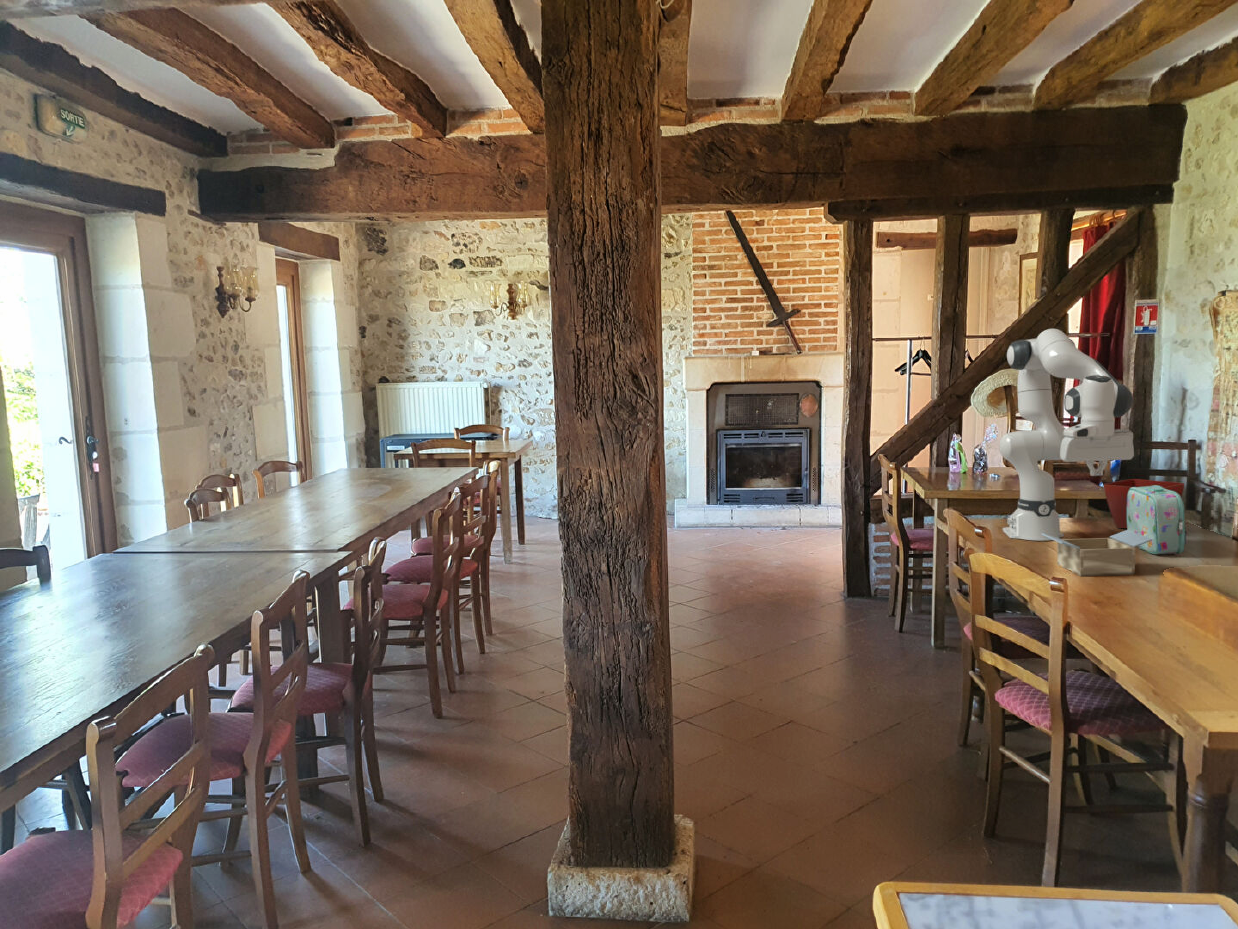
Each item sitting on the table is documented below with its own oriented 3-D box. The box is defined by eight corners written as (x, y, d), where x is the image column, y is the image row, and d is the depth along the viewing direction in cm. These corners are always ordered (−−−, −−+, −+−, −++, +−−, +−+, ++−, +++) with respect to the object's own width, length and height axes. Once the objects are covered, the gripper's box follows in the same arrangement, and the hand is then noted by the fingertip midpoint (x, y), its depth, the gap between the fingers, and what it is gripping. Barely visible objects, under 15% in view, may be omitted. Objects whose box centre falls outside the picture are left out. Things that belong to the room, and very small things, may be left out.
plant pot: (1101, 528, 311) (1102, 483, 309) (1131, 521, 320) (1132, 478, 318) (1154, 536, 295) (1155, 489, 293) (1184, 528, 303) (1185, 483, 302)
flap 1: (1058, 539, 261) (1041, 534, 261) (1058, 538, 261) (1041, 533, 261) (1079, 549, 247) (1061, 543, 247) (1079, 547, 247) (1062, 542, 247)
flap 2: (1109, 536, 260) (1126, 529, 259) (1110, 537, 260) (1127, 531, 259) (1133, 545, 246) (1152, 539, 246) (1134, 547, 246) (1152, 540, 246)
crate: (1057, 564, 262) (1057, 539, 261) (1108, 562, 261) (1108, 537, 260) (1080, 576, 247) (1080, 550, 246) (1134, 574, 246) (1135, 548, 245)
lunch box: (1191, 558, 262) (1193, 491, 259) (1155, 558, 264) (1156, 492, 261) (1154, 540, 288) (1156, 479, 285) (1122, 540, 290) (1123, 480, 287)
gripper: (1127, 427, 252) (1126, 472, 253) (1057, 430, 253) (1057, 475, 255) (1139, 429, 246) (1137, 475, 247) (1067, 432, 247) (1067, 478, 248)
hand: (1096, 475), depth 251 cm, fingers closed
